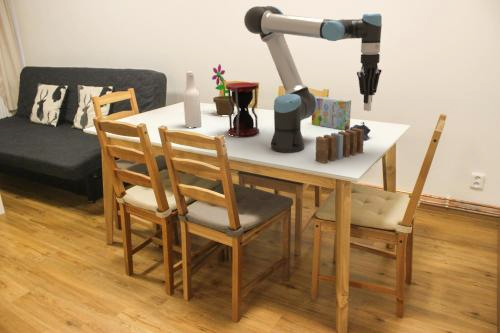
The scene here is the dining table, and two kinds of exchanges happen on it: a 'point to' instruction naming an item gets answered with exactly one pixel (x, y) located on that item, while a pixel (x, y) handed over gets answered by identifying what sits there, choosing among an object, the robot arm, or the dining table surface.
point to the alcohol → (191, 102)
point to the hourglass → (242, 109)
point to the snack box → (332, 113)
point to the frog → (363, 127)
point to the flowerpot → (222, 101)
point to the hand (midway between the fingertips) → (367, 110)
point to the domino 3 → (338, 145)
